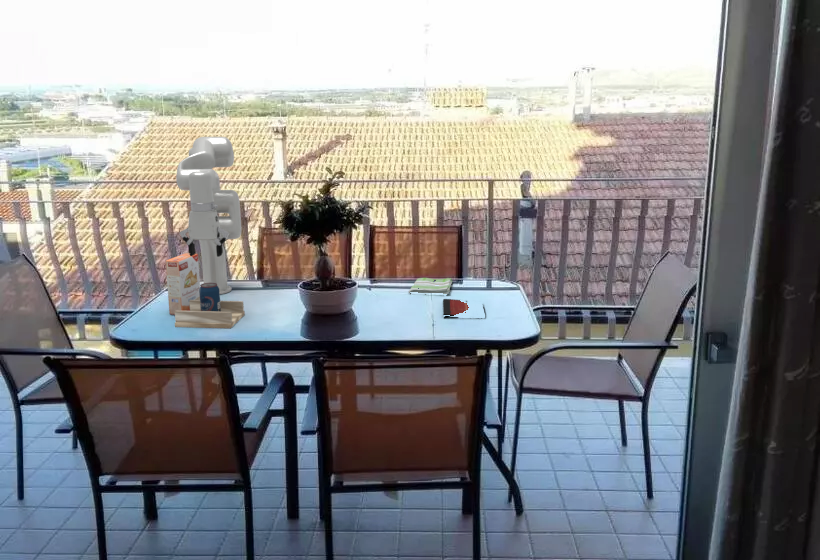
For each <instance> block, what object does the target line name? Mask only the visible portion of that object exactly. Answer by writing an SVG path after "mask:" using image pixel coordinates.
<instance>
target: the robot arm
mask: <svg viewBox="0 0 820 560" xmlns="http://www.w3.org/2000/svg"><path fill="white" fill-rule="evenodd" d="M234 162H235V153H234V149H233V144H232V141H231V140H230V139H229V138H228V137H227V136H200V137H198V138H196V139H195V140H194V141H193V143H192V147H190V149H189V150H188V156H187V157H186V158H184V159H182V160H181V161H179V163H178V166H177V168H176V177H175V179H176V185H177V188H179V190H181V191H186V192H187V191H188V192H189V198H190V199H189V200H190V211H189V214H188V216H189V217H188V222H187V223H188V224H187V225H188V227H187V228H185V229H183V230H181V231H179V235H180V237H181V238H182V240H183V241H184V242H185V243H186V245H187V247H188V253H190V256H193V255H195V254H196V249H195V248H196V245H195V243H194V242H195V241H199V244H200V254H201V266H202V267H201V268H202V278H203V279H202V280H203V284H204V283H216V284H217V286H218V287H219V293H220V295H223V294H227V293H230V292H231V291H232V287H231V286H230V285H228V281H229V278H228V276H227V272H228V271H227V260H226V259H227V258H226V250H225V247H224V246H223V244H224V243H225V242H226V241H227V240H236V239H239V238H240V237H241V236H242V218H241V204H240V203H241V202H240V197H239V193H238V192H237V191H236V190H233V189H221V185H220V182H221V181H220V177H219V174H218V172H217V171H216V170H214V168H230V167H232V166H233V165H234ZM218 214H228V216H227V215H226V216H218ZM187 233H188V236H187V235H186V234H187Z"/></svg>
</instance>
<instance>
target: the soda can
mask: <svg viewBox="0 0 820 560" xmlns="http://www.w3.org/2000/svg"><path fill="white" fill-rule="evenodd" d="M199 295H200V308H201V311H221V306H220V301H221V296H220V295H221V294H220V293H219V287H218V286H217V284H216V283H204V282H203V283H200V289H199Z"/></svg>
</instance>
